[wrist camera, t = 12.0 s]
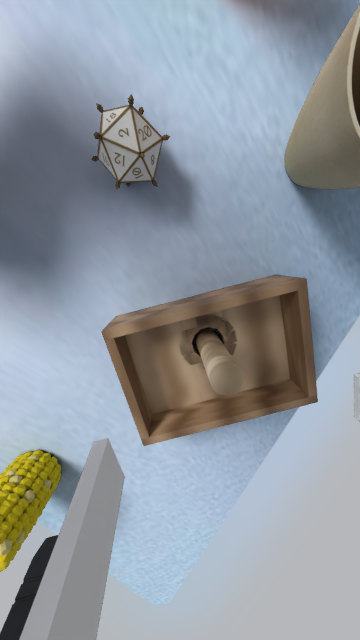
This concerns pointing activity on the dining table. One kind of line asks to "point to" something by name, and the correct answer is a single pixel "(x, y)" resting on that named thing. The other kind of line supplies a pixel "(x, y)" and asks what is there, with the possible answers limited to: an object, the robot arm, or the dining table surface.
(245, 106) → the dining table surface
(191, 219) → the dining table surface
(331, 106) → the plant pot
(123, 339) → the box
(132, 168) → the game die
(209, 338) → the peg
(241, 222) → the dining table surface
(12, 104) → the dining table surface
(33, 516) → the food
